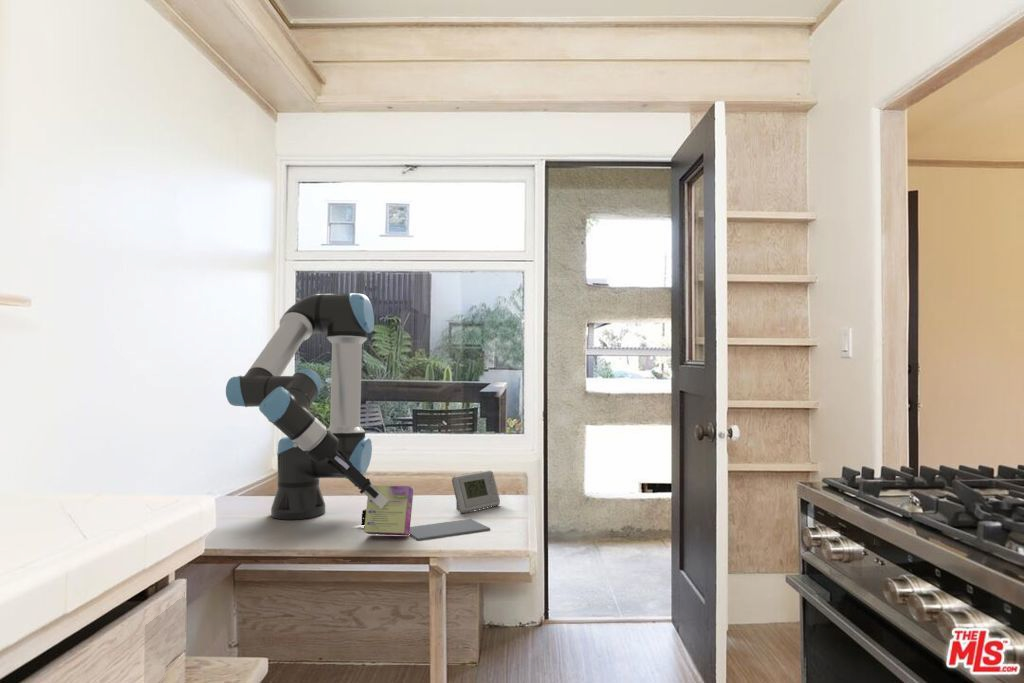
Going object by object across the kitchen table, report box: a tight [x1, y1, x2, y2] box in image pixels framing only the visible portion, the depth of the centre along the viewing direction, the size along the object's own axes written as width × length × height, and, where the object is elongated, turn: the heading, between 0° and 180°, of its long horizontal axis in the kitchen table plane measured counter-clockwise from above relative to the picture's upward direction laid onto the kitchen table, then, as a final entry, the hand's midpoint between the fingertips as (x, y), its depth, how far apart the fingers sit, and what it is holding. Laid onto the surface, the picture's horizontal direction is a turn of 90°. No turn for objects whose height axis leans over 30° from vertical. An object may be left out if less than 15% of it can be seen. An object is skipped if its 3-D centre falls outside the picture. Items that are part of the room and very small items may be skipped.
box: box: [363, 484, 414, 536], centre depth 169 cm, size 10×6×12 cm, turn 84°
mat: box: [409, 518, 491, 541], centre depth 174 cm, size 12×20×1 cm, turn 119°
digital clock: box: [451, 469, 501, 514], centre depth 200 cm, size 16×9×11 cm, turn 124°
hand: (384, 503), depth 166 cm, fingers closed
